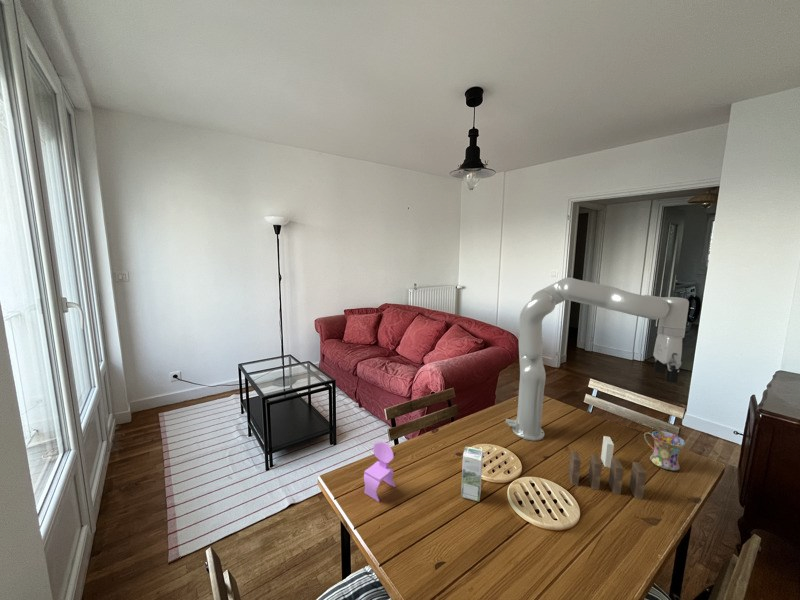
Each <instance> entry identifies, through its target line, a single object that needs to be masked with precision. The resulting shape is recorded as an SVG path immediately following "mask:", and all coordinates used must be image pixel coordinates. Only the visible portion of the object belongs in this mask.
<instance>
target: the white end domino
mask: <svg viewBox="0 0 800 600" xmlns="http://www.w3.org/2000/svg"><path fill="white" fill-rule="evenodd" d="M614 447H615V444H614V442H613V441H612V439H611V437H610V436H606V435H603V438H602V445H601V455H600V459H601V463H602V465H603V466H604V468H609V469H610V466H611V458H614V455H613V454H614Z"/></svg>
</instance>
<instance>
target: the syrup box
mask: <svg viewBox="0 0 800 600" xmlns="http://www.w3.org/2000/svg"><path fill="white" fill-rule="evenodd" d="M483 458H484V449H481V448H476V447H470V446H465V447H464V450H463V454H462V466H461V467H462V471H461V472H462V473H461V493H460V494H461V495H460V497H461V498H463V499H466V500H471V501H473V502H477V503H478V502H480V500H481V499H480V498H481V494H482V493H481V491H482V475H483V461H484V460H483Z"/></svg>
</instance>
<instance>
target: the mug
mask: <svg viewBox="0 0 800 600" xmlns="http://www.w3.org/2000/svg"><path fill="white" fill-rule="evenodd" d="M648 434H649V435H650V436H651V437H652V438H653V439H652V440H653V443H654V447H653V446H652V444H651V443H650V442H649V440H648V438H647V436H646V435H648ZM643 436H644V437H643V438H644V440H645V441H646V443H647V445H648V446H649V447H650V448H651V452H653V453H652V454H651V455H650V456H649V460H650V461H651V463H653V464H654V465H655V466H658V467H659V468H662V469H664V470H666V471H667V470H668V471H678V470H680V469H681V468H680V464H679V455H680V452H681V450H682V448H683V447H684V446H685V444H686V441H685V439H683V438H682V437H680V436H679V435H676V434H674V433H672V432H668V431H663V430H653V431H652V432H645V433H644V434H643Z"/></svg>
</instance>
